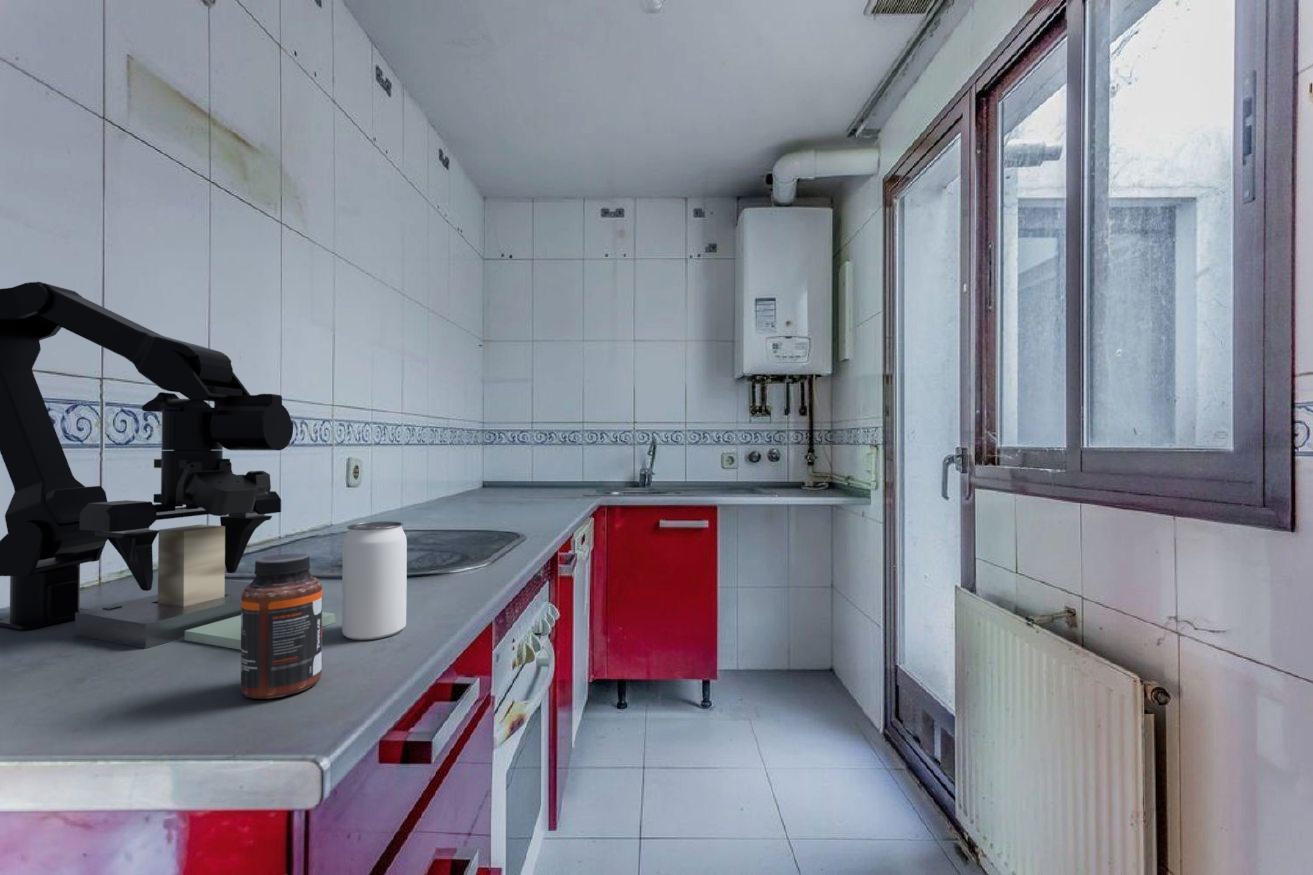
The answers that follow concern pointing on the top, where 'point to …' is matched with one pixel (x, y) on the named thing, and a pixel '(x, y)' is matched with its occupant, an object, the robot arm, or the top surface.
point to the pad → (230, 632)
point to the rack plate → (156, 618)
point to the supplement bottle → (281, 628)
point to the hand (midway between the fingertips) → (191, 580)
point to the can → (374, 580)
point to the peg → (191, 564)
